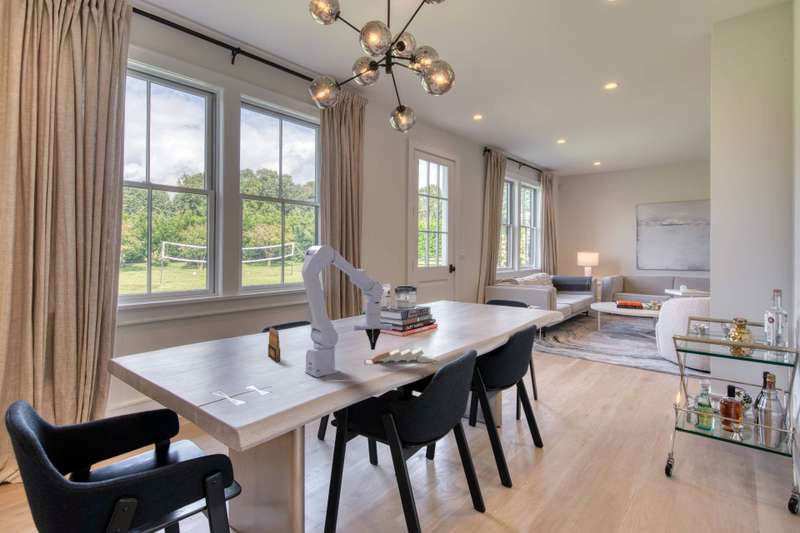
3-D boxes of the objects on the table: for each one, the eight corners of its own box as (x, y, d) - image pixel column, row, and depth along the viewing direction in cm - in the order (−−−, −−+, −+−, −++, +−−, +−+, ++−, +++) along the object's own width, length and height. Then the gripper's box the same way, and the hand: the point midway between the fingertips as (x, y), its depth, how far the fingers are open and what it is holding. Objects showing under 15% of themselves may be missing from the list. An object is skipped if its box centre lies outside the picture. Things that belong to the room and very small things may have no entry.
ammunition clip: (268, 356, 163) (267, 326, 163) (272, 355, 164) (272, 326, 164) (275, 362, 154) (275, 331, 154) (280, 361, 155) (280, 330, 155)
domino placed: (371, 359, 152) (388, 351, 153) (370, 356, 156) (387, 349, 157) (372, 363, 152) (389, 355, 153) (371, 360, 156) (388, 353, 157)
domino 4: (417, 357, 154) (435, 359, 155) (415, 354, 158) (433, 357, 159) (417, 361, 154) (434, 363, 155) (415, 358, 158) (432, 361, 159)
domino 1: (382, 359, 153) (399, 351, 153) (381, 356, 156) (398, 349, 157) (383, 362, 153) (401, 355, 154) (382, 360, 157) (399, 352, 157)
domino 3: (405, 358, 154) (422, 350, 155) (403, 355, 158) (420, 347, 158) (407, 362, 154) (423, 353, 155) (405, 359, 158) (421, 351, 159)
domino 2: (393, 358, 153) (410, 351, 154) (392, 355, 157) (409, 348, 158) (395, 362, 153) (412, 354, 154) (393, 359, 157) (410, 352, 158)
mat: (364, 365, 150) (364, 364, 150) (363, 360, 157) (363, 359, 157) (420, 363, 153) (420, 362, 153) (417, 358, 160) (417, 357, 160)
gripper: (353, 315, 148) (353, 352, 149) (393, 314, 151) (393, 351, 151) (353, 312, 155) (353, 347, 156) (391, 311, 157) (391, 346, 158)
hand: (372, 349), depth 154 cm, fingers closed
